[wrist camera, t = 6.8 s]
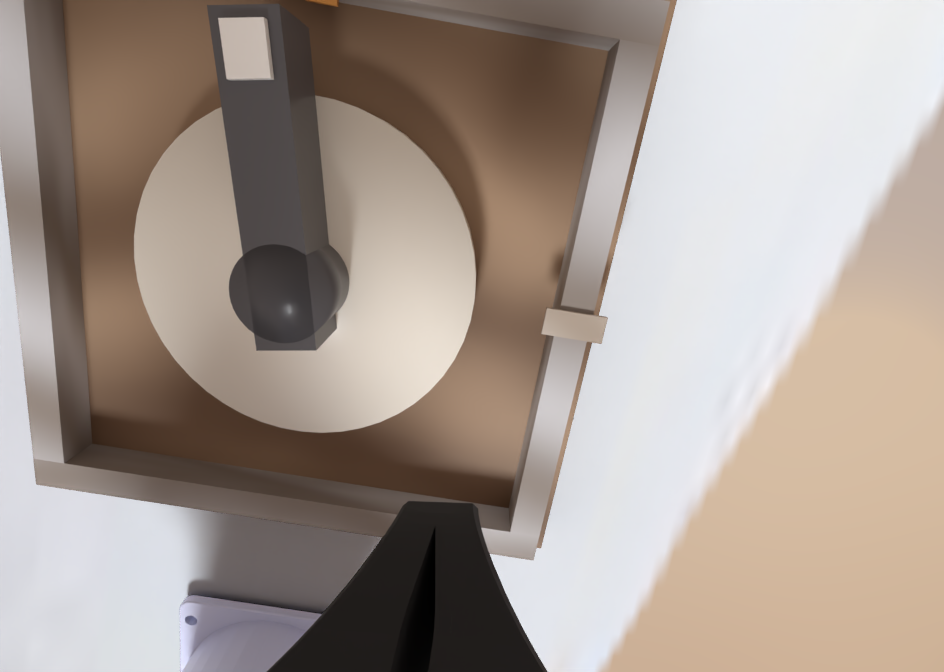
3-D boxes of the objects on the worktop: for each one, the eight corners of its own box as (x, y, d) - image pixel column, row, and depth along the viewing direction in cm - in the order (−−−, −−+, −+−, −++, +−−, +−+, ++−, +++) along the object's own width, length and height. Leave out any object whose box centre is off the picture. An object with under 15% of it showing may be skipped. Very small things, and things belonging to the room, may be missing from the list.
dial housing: (536, 522, 21) (544, 576, 18) (83, 452, 20) (19, 496, 17) (659, 14, 15) (698, -20, 13) (43, -98, 15) (-59, -161, 12)
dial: (477, 418, 18) (475, 471, 14) (185, 418, 18) (123, 469, 15) (474, 34, 14) (472, -3, 11) (112, 41, 14) (11, 5, 11)
